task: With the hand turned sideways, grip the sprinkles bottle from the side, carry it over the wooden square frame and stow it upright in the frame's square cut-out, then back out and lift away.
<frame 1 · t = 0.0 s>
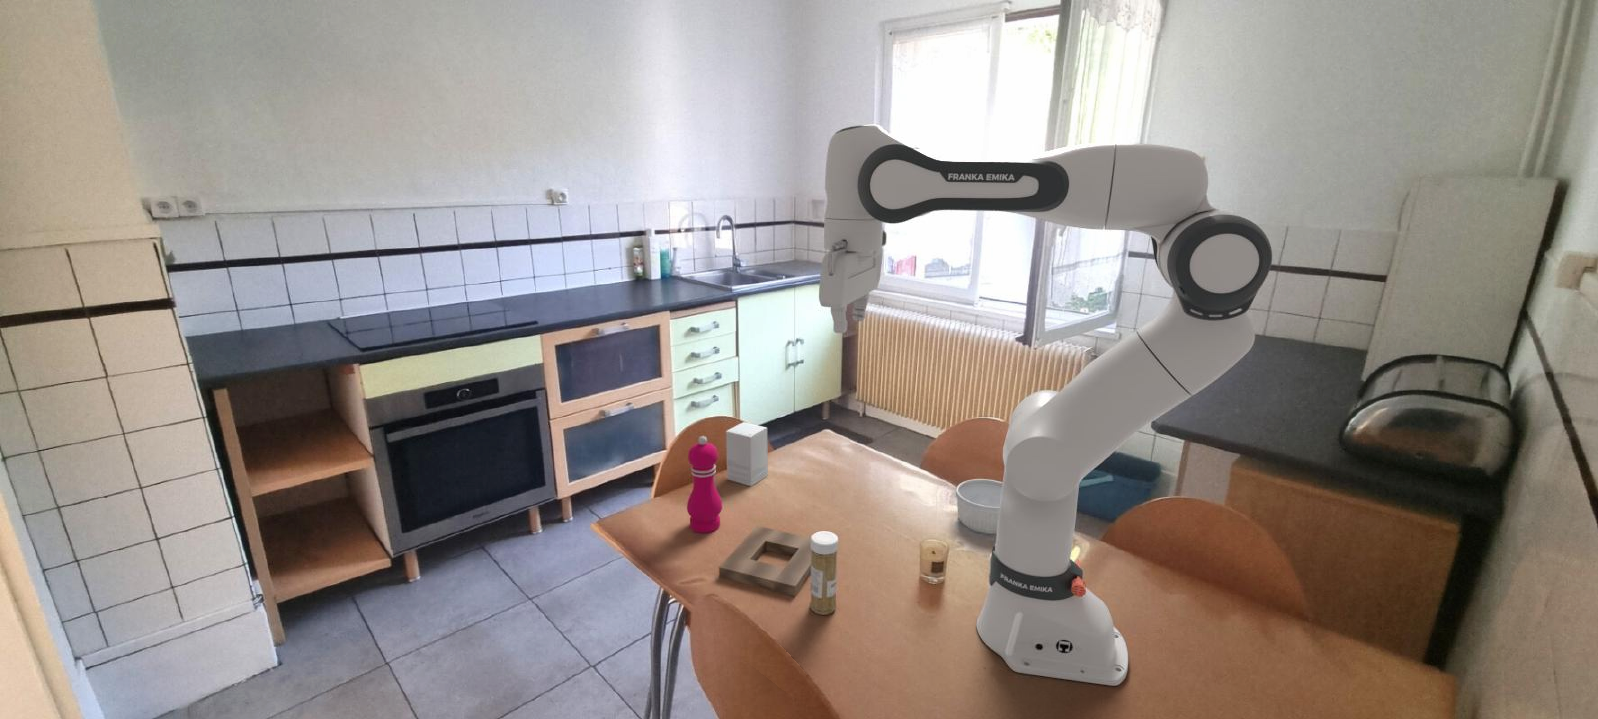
hand: (849, 326, 106), 48 cm above the table, tool pointing down, fingers open, 8 cm apart
pepper mill: (705, 526, 139), on the table
ramekin: (985, 522, 142), on the table
supplement box: (747, 478, 162), on the table
sprinkles bottle: (822, 608, 114), on the table
wooden square frame: (774, 562, 126), on the table
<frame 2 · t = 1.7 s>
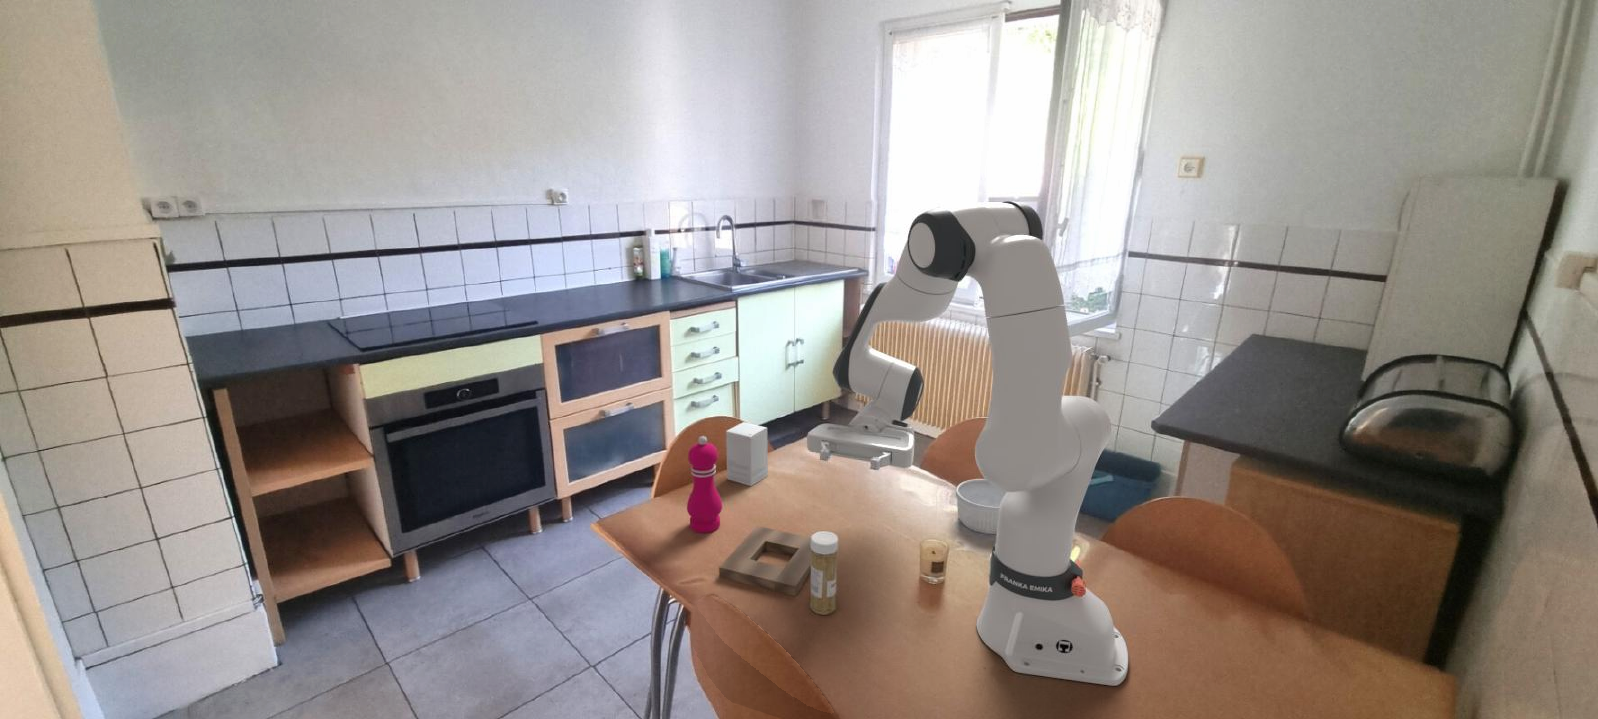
hand: (848, 461, 118), 22 cm above the table, tool horizontal, fingers open, 8 cm apart
nothing on the table moved.
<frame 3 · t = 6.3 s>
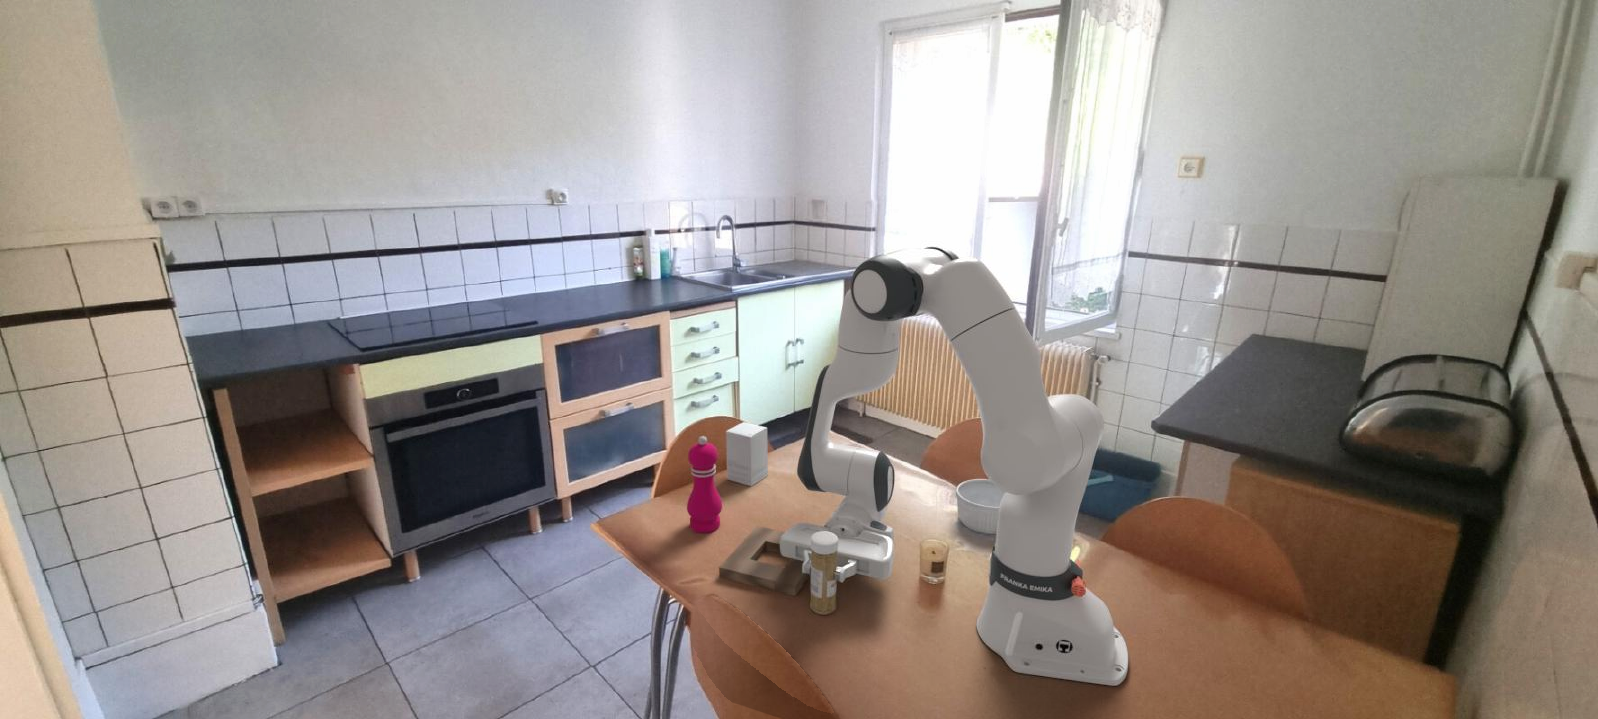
hand: (822, 573, 111), 7 cm above the table, tool horizontal, fingers closed on sprinkles bottle, 4 cm apart
sprinkles bottle: (822, 608, 114), on the table, touching gripper
everything else where it was.
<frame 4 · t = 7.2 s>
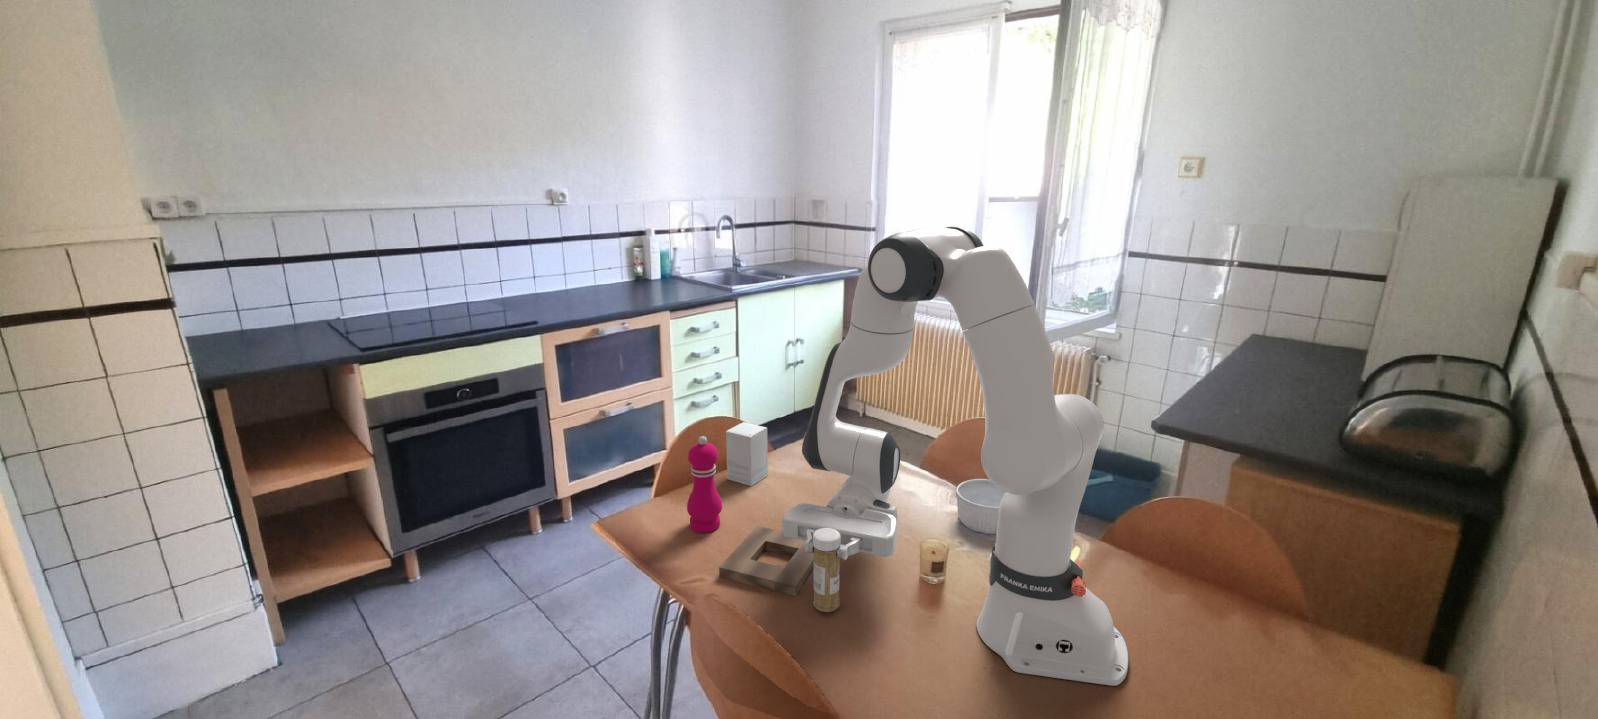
hand: (824, 551, 109), 11 cm above the table, tool horizontal, fingers closed on sprinkles bottle, 4 cm apart
sprinkles bottle: (826, 605, 113), point 1 cm above the table, touching gripper
everything else where it was.
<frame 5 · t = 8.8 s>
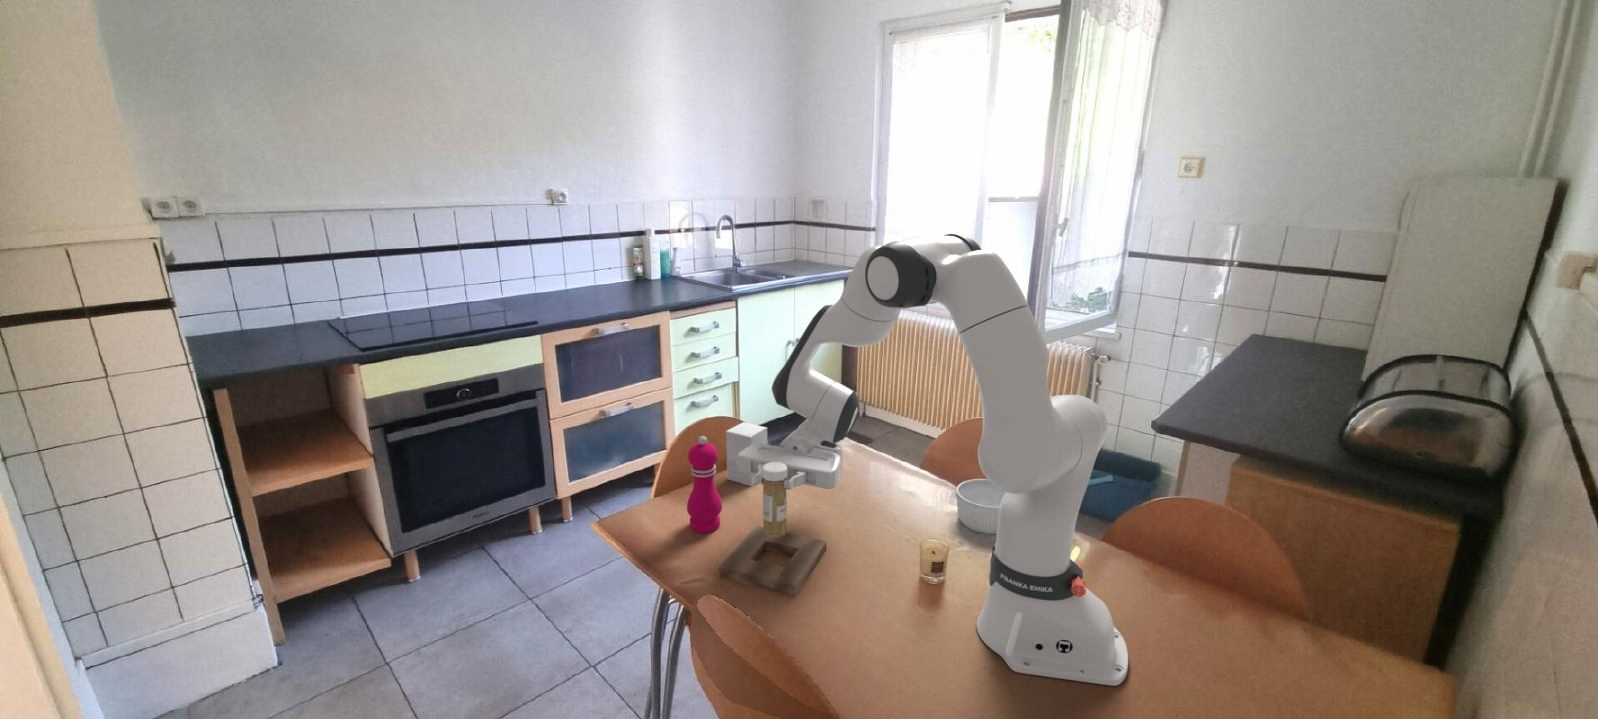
hand: (772, 482, 121), 17 cm above the table, tool horizontal, fingers closed on sprinkles bottle, 4 cm apart
sprinkles bottle: (774, 532, 125), point 6 cm above the table, touching gripper
everything else where it was.
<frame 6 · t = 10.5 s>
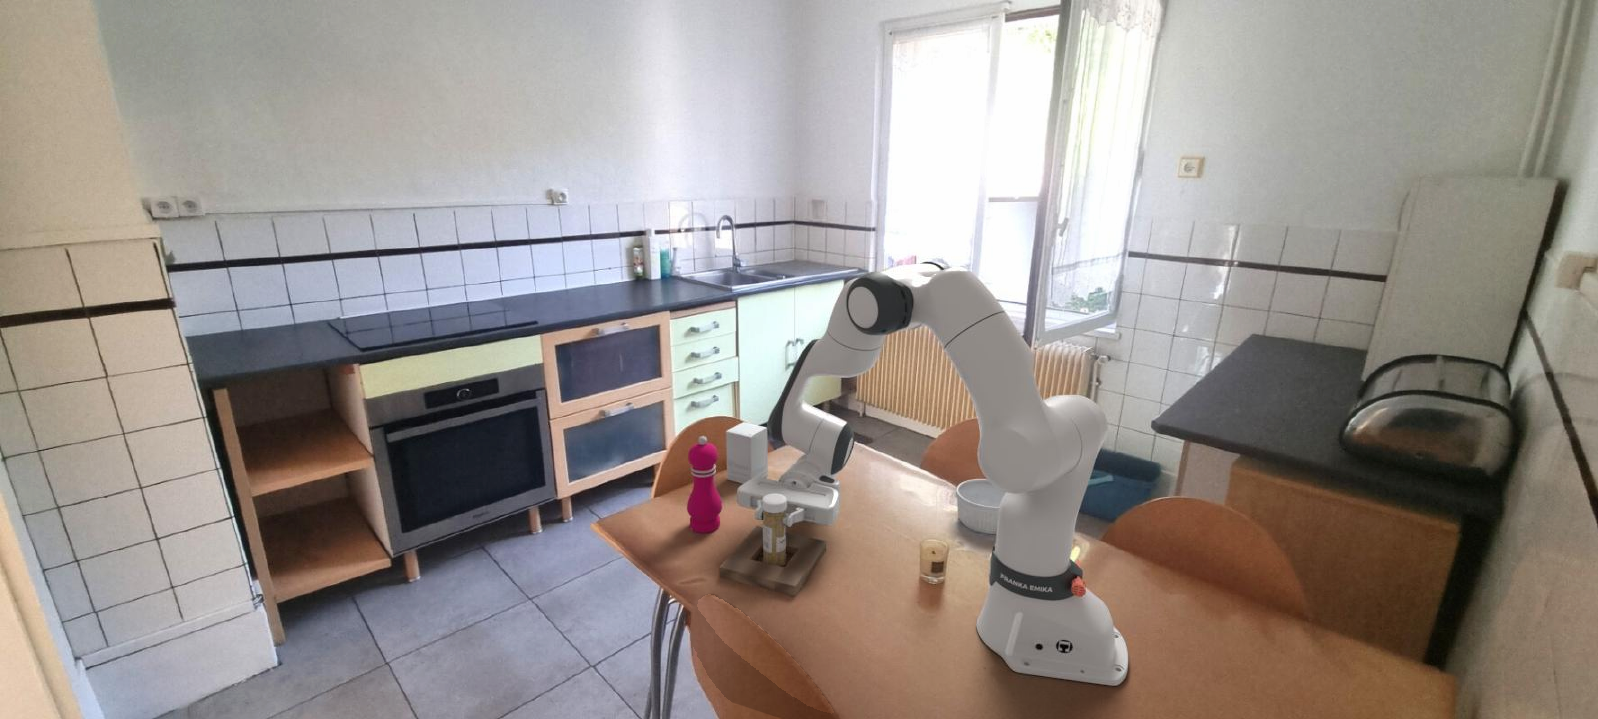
hand: (771, 519, 123), 10 cm above the table, tool horizontal, fingers closed on sprinkles bottle, 4 cm apart
sprinkles bottle: (774, 563, 127), resting in wooden square frame, touching gripper
everything else where it was.
when the fingers open (9 cm above the table, at t = 11.2 s): sprinkles bottle stays where it is, resting in wooden square frame.
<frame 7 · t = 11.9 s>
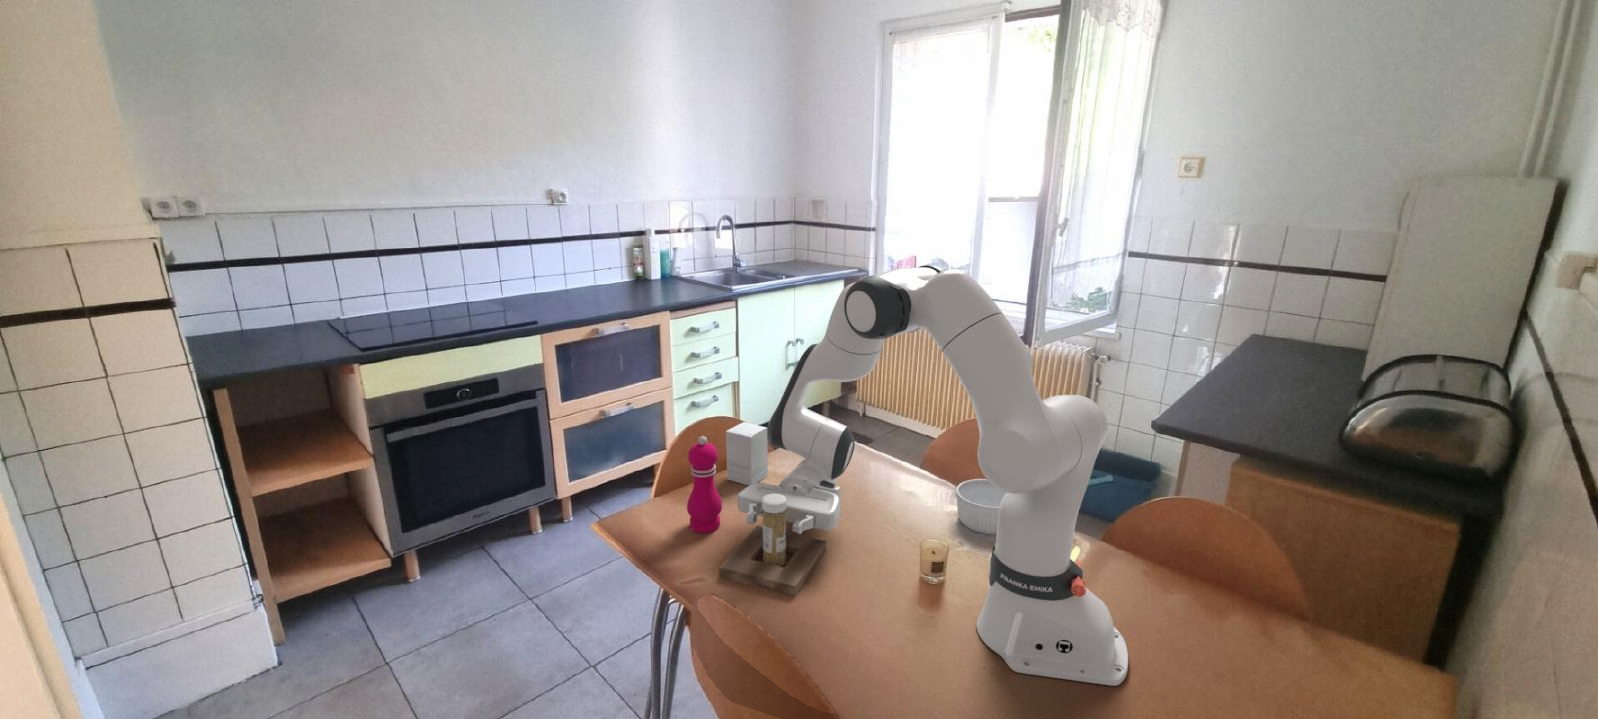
hand: (772, 524, 123), 9 cm above the table, tool horizontal, fingers open, 8 cm apart
sprinkles bottle: (774, 563, 127), resting in wooden square frame
everything else where it was.
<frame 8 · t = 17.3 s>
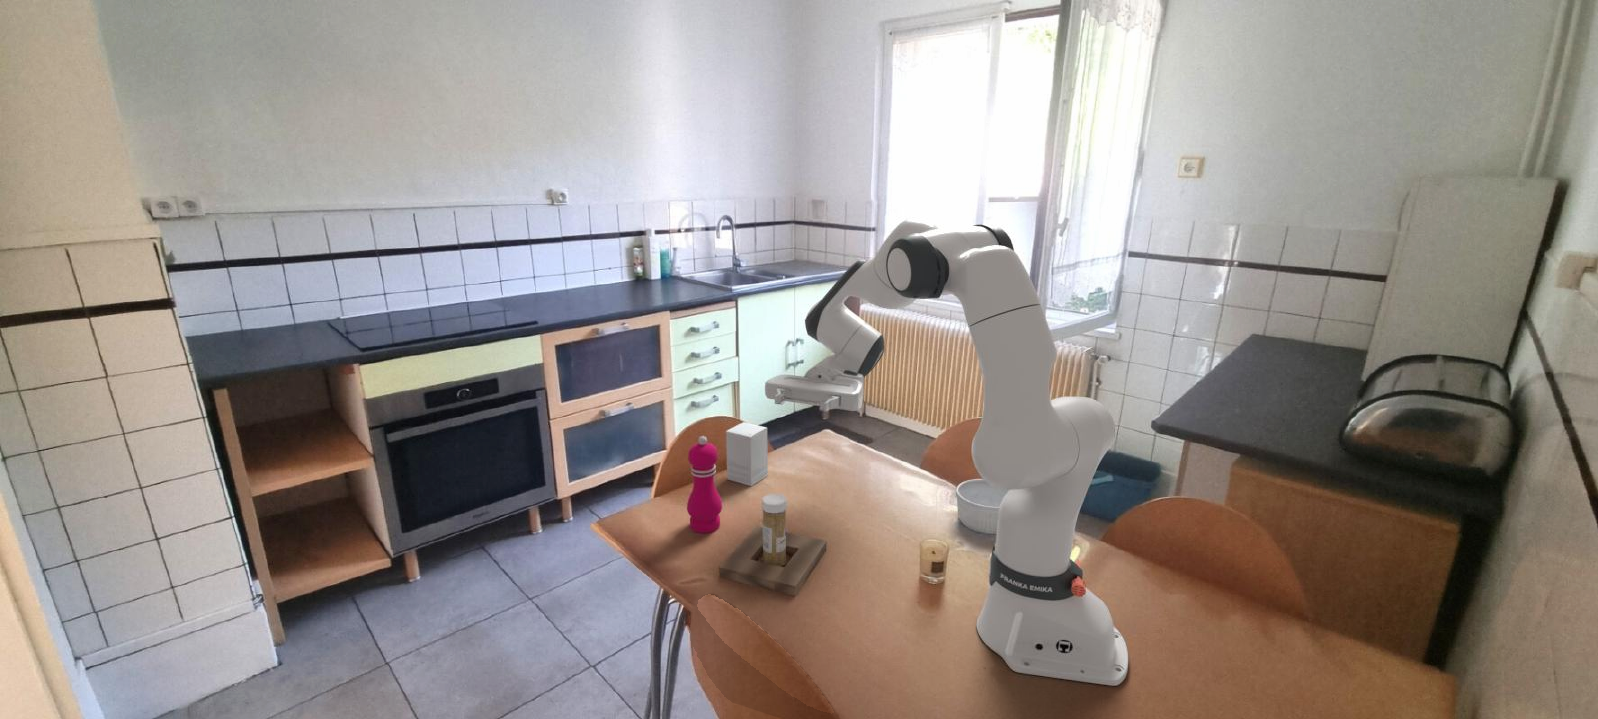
hand: (800, 403, 130), 28 cm above the table, tool horizontal, fingers open, 8 cm apart
nothing on the table moved.
at the end: sprinkles bottle 0.1 cm off-centre on the wooden square frame, point 0.0 cm above the wooden square frame's base; sprinkles bottle tilted 0°; the gripper is holding nothing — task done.
